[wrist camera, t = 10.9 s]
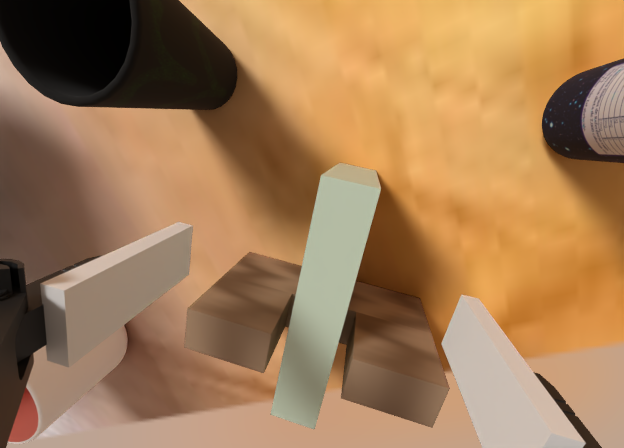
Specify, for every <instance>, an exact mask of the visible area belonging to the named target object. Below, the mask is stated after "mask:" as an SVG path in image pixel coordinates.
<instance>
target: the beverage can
mask: <svg viewBox="0 0 624 448" xmlns="http://www.w3.org/2000/svg"><path fill="white" fill-rule="evenodd" d="M542 130H543V134H544V137H545V140H546V142H547V143H548V145H549V146H550V147H551V148H552V149H553V150H554V151H555V152H557V153H558V154H560V155H562V156H564V157H567V158H571V159H579V160H592V161H605V162H618V163H624V59H621V60H618V61H615V62H612V63H609V64H606V65H603V66H599V67H596V68H593V69H590V70H587V71H585V72H582V73H580V74H577V75H575V76H574V77H572V78H570V79H569V80H567V81H566V82H565V83H563V84H562V85H561V86H560V87H559V88H558V89H557V90H556V91H555V92H554V94H553V95H552V96H551V98H550V100H549V101H548V103H547V105H546V108H545V110H544V113H543V119H542Z"/></svg>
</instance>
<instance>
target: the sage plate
mask: <svg viewBox="0 0 624 448" xmlns="http://www.w3.org/2000/svg"><path fill="white" fill-rule="evenodd" d="M380 191H381V187H380V183H379V179H378V176H377V172H376V170H371V169H367V168H362V167H358V166H353V165H349V164H344V163H338V164H337V165H335V166H334V167H332V168H331V169H330V170H328V171H327V172H325V173H324V174H322V175H321V178H320V183H319V187H318V192H317V197H316V202H315V206H314V211H313V216H312V221H311V225H310V230H309V235H308V239H307V244H306V249H305V254H304V258H303V263H302V268H301V273H300V277H299V282H298V287H297V292H296V296H295V301H294V306H293V310H292V315H291V320H290V325H289V329H288V334H287V339H286V344H285V348H284V353H283V358H282V363H281V367H280V372H279V377H278V382H277V386H276V391H275V396H274V400H273V406H272V410H271V415H273V416H276V417H279V418H282V419H285V420H288V421H291V422H294V423H297V424H300V425H303V426H306V427H309V428H312V429H315V426H316V422H317V419H318V415H319V411H320V408H321V404H322V401H323V397H324V393H325V390H326V386H327V383H328V379H329V375H330V372H331V368H332V364H333V361H334V357H335V354H336V350H337V346H338V343H339V339H340V336H341V332H342V328H343V325H344V321H345V317H346V314H347V310H348V307H349V303H350V299H351V296H352V292H353V289H354V285H355V281H356V278H357V274H358V271H359V267H360V263H361V260H362V256H363V252H364V249H365V245H366V242H367V238H368V234H369V231H370V227H371V224H372V220H373V216H374V213H375V209H376V205H377V202H378V198H379V195H380Z"/></svg>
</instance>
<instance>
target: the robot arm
mask: <svg viewBox="0 0 624 448" xmlns="http://www.w3.org/2000/svg"><path fill="white" fill-rule="evenodd" d="M192 231H193V225H189V224H185V223H181V222H177V223H175V224H173V225H171V226H168V227H166V228H164V229H162V230H159V231H157V232H155V233H153V234H150V235H148V236H146V237H144V238H141V239H139V240H137V241H135V242H132V243H130V244H128V245H126V246H123V247H121V248H119V249H117V250H115V251H112V252H110V253H108V254H106V255H102V256H97V257H93V258H88V259H86V260H83V261H81V262H79V263H76V264H74V266H69V267H67V268H65V269H63V271H61V270H60V271H58V272H56V273H53V274H51V275H49V276H46V277H44V278H42V279H39V280H37V281H35V282H32V283H30V284H28V285H26V280H25V271H24V264H23V263H21V262H20V261H17V260H12V259H0V448H6V446H7V443H8V440H9V437H10V433H11V430H12V427H13V424H14V421H15V418H16V415H17V412H18V409H19V406H20V403H21V400H22V397H23V394H24V391H25V388H26V385H27V382H28V379H29V376H30V373H31V370H32V367H33V364H34V355H33V353H34V352H36V351H38V350H39V349H41V348H42V347H44V346H45V345H46V354H47V361H50V362H53V363H56V364H59V365H62V366H65V367H68V368H69V367H71V366H72V365H73V364H74V363H76V362H77V361H78V360H80V359H81V358H82V357H83V356H85V355H86V354H87V353H89V352H90V351H91V350H92V349H94V348H95V347H96V346H98V345H99V344H100V343H101V342H103V341H104V340H105V339H107V338H108V337H109V336H110V335H112V334H113V333H114V332H116V331H117V330H118V329H119V328H121V327H122V326H123V325H125V324H126V323H127V322H128V321H130V320H131V319H132V318H134V317H135V316H136V315H137V314H139V313H140V312H141V311H143V310H144V309H145V308H146V307H148V306H149V305H150V304H152V303H153V302H154V301H155V300H157V299H158V298H159V297H161V296H162V295H163V294H164V293H166V292H167V291H168V290H170V289H171V288H172V287H173V286H175V285H176V284H177V283H179V282H180V281H181V280H182V279H184V278H185V277H186V276H188V275H189V267H190V255H191V243H192ZM441 344H442V347H443V349H444V352H445V354H446V357H447V359H448V362H449V364H450V367H451V369H452V372H453V374H454V377H455V380H456V382H457V385H458V387H459V390H460V392H461V395H462V397H463V400H464V402H465V405H466V407H467V410H468V413H469V415H470V417H471V420H472V423H473V425H474V428H475V430H476V433H477V435H478V438H479V440H480V443H481V445H482V448H602V447H601V446H600V445H599V444H598V442H597V441H596V440H595V438H594V437H593V436H592V435H591V434H590V432H589V431H588V429H587V428H586V427H585V426H584V425H583V423H582V422H581V420H580V419H579V418H578V417H577V416H575V413H574V412H573V410H572V409H571V408H570V407H569V405H568V404H566V401H565V400H564V399H563V397H562V396H561V395H560V394H559V392H558V391H557V390H556V389H555V388H554V386H552V385H551V384H550V383H549V382H548V381H547V380H546V379H544V378H543V377H542V376H541V375H540V374H538V373H534V372H533V371H532V370H531V369H530V367H529V366H528V364H527V363H526V362H525V360H524V359H523V358H522V356H521V355H520V354H519V352H518V351H517V350H516V348H515V347H514V346H513V344H512V343H511V342H510V340H509V339H508V337H507V336H506V335H505V333H504V332H503V331H502V329H501V328H500V327H499V325H498V324H497V323H496V321H495V320H494V319H493V317H492V316H491V315H490V313H489V312H488V311H487V309H486V308H485V306H484V305H483V304H482V302H481V301H480V300H479V299H478V298H474V297H470V296H466V295H461V297H460V299H459V302H458V304H457V307H456V309H455V312H454V314H453V316H452V319H451V321H450V324H449V326H448V329H447V331H446V334H445V336H444V338H443V341H442V343H441Z"/></svg>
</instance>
